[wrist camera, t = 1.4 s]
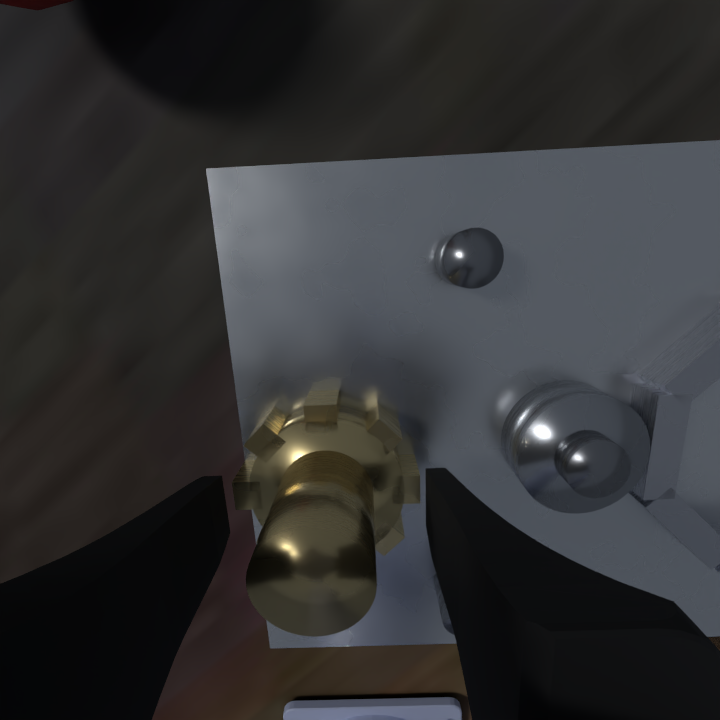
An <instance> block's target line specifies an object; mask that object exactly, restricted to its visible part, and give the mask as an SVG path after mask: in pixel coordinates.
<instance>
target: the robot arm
mask: <svg viewBox="0 0 720 720" xmlns="http://www.w3.org/2000/svg"><path fill="white" fill-rule="evenodd" d="M425 469H426V529H427V535H428V541H429V547H430V552H431V557H432V561H433V564H434V567H435V571H436V574H437V578H438V581H439V584H440V588H441V591H442V594H443V598H444V601H445V604H446V608H447V611H448V614H449V618H450V621H451V624H452V628H453V631H454V635H455V639H456V643H457V647H458V651H459V656H460V661H461V666H462V670H463V675H464V680H465V685H466V690H467V695H468V700H469V705H470V710H471V716H472V720H720V651H719V650H718V649H717V647H716V646H715V645H714V644H713V643H712V642H711V641H710V640H709V638H708V637H707V636H706V635H705V634H704V633H703V632H702V631H701V630H700V629H699V627H698V626H697V625H696V624H695V623H694V622H693V621H692V620H691V619H690V618H689V617H688V616H687V615H686V614H685V613H684V611H683V610H682V609H681V608H680V607H679V606H678V605H677V604H676V603H675V602H674V601H671V600H668V599H666V598H663V597H660V596H657V595H655V594H652V593H649V592H646V591H644V590H641V589H638V588H635V587H633V586H630V585H627V584H624V583H622V582H619V581H617V580H615V579H612V578H610V577H608V576H605V575H603V574H601V573H599V572H596V571H594V570H592V569H589V568H587V567H585V566H583V565H581V564H579V563H577V562H575V561H573V560H571V559H569V558H567V557H565V556H563V555H561V554H559V553H558V552H556V551H554V550H552V549H550V548H548V547H547V546H545V545H543V544H541V543H540V542H538V541H536V540H535V539H533V538H532V537H530V536H528V535H527V534H525V533H524V532H522V531H521V530H519V529H517V528H516V527H515V526H513V525H512V524H510V523H509V522H507V521H506V520H505V519H503V518H502V517H501V516H500V515H498V514H497V513H496V512H494V511H493V510H492V509H490V508H489V507H488V506H487V505H486V504H484V503H483V502H482V501H481V500H480V499H478V498H477V497H476V496H475V495H474V494H473V493H472V492H471V491H469V490H468V489H467V488H466V487H465V486H464V485H463V484H462V483H461V482H460V481H459V480H458V479H457V478H456V477H455V476H454V475H453V474H452V473H450V472H449V471H448V470H447V469H446V468H425ZM229 534H230V527H229V520H228V514H227V507H226V501H225V494H224V488H223V481H222V476H204V477H201V478H199V479H197V480H195V481H193V482H192V483H190V484H188V485H187V486H185V487H184V488H182V489H180V490H179V491H177V492H176V493H174V494H173V495H171V496H170V497H168V498H166V499H165V500H163V501H162V502H160V503H159V504H157V505H156V506H154V507H152V508H151V509H149V510H148V511H146V512H145V513H143V514H141V515H139V516H138V517H136V518H134V519H133V520H131V521H129V522H128V523H126V524H124V525H123V526H121V527H119V528H118V529H116V530H114V531H113V532H111V533H109V534H107V535H106V536H104V537H102V538H100V539H98V540H96V541H94V542H92V543H91V544H89V545H87V546H85V547H83V548H81V549H79V550H77V551H75V552H73V553H71V554H69V555H66V556H64V557H62V558H60V559H58V560H55V561H53V562H51V563H49V564H46V565H44V566H42V567H39V568H37V569H35V570H33V571H30V572H28V573H26V574H24V575H21V576H19V577H16V578H14V579H11V580H9V581H6V582H4V583H1V584H0V720H152V717H153V714H154V711H155V709H156V706H157V703H158V700H159V698H160V695H161V692H162V690H163V687H164V684H165V682H166V679H167V677H168V674H169V671H170V669H171V666H172V664H173V661H174V658H175V656H176V654H177V651H178V649H179V647H180V645H181V642H182V640H183V638H184V636H185V634H186V632H187V630H188V628H189V626H190V624H191V622H192V619H193V617H194V615H195V613H196V611H197V609H198V607H199V605H200V603H201V601H202V599H203V597H204V595H205V593H206V591H207V589H208V587H209V585H210V583H211V581H212V579H213V577H214V575H215V572H216V570H217V568H218V566H219V564H220V561H221V558H222V556H223V553H224V550H225V547H226V544H227V541H228V538H229ZM283 719H284V720H462V711H461V706H460V702H459V701H458V700H457V699H455V698H453V697H425V698H382V699H340V700H297V701H291V702H289V703H287V704H286V706H285V709H284V715H283Z"/></svg>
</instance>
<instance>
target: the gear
mask: <svg viewBox="0 0 720 720" xmlns="http://www.w3.org/2000/svg"><path fill="white" fill-rule="evenodd" d="M402 440H403V439H402V434H401V429H400V425H399V421H398V420H397V419H395V418H394V417H393V416H392V415H391V414H390V413H389V412H387V411H386V410H385V409H384V408H383V407H382V406H381V405H379V404H378V403H377V404H376V405H375V406H374V407H373V408H372V409H371V410H370V411H369V412H368V413H367V414H365V413H364V412H362V411H359V410H357V409H354V408H351V407H347V406H343V405H340V394H339V390H319V391H309V394H308V396H307V398H306V401H305V403H304V405H303V409H301V410H298V411H296V412H294V413H292V414H291V415H289V416H288V417H286V416H284V415H283V414H282V413H281V412H279V411H278V410H277V409H276V408H275V407H274V408H273V409H272V410H271V411H270V412H269V413H268V414H267V415H266V416H265V417H264V419H263V420H262V421H261V422H260V423H259V424H258V425H257V426H256V427H255V429H254V430H253V432H252V433H251V435H250V436H249V438H248V439H247V441H246V442H245V444H244V445H243V446H244V447H246V448H247V449H248V450H249V451H251V452H252V453H253V454H255V455H256V456H257V458H256V460H248V461H245V462H244V463H243V465H242V467H241V468H240V470H239V472H238V473H237V475H236V477H235V478H234V480H233V482H232V487H233V494H234V500H235V507H236V510H247V509H253V511H254V514H255V516H256V518H257V519H258V521H259V523H260V524H261V526H262V529H261V532H260V534H259V537H258V539H257V542H256V543H257V545H256V547H255V550H254V553H253V555H252V558H251V560H250V563H249V566H248V569H247V575H246V586H247V591H248V595H249V597H250V600H251V602H252V604H253V605H254V607H255V608H256V610H257V611H258V612H259V613H260V614H261V615H262V616H263V617H264V618H265V619H266V620H267V621H268V622H270V623H271V624H273V625H274V626H276V627H278V628H280V629H282V630H284V631H287V632H289V633H292V634H297V635H302V636H315V637H317V636H327V635H332V634H335V633H339V632H341V631H344V630H346V629H348V628H350V627H352V626H353V625H355V624H356V623H357V622H359V621H360V620H361V619H362V618H363V617H364V616H365V615H366V613H367V612H368V611H369V610H370V608H371V606H372V604H373V602H374V599H375V596H376V591H377V572H376V550H377V551H378V552H379V553H381V554H382V555H383V556H385V555H386V554H387V553H388V552H390V551H391V550H392V549H393V548H394V547H395V546H396V545H397V544H398V543H399V542H401V541H402V540H403V539H404V538H405V535H404V528H403V522H402V515H401V510H402V507H403V504H419V503H420V473H419V469H418V466H417V462H416V458H415V454H407V455H399V454H398V450H397V448H396V446H397V445H398V444H399V443H400V442H401V441H402Z"/></svg>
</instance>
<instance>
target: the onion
mask: <svg viewBox="0 0 720 720" xmlns="http://www.w3.org/2000/svg"><path fill="white" fill-rule="evenodd" d="M70 1H73V0H0V4H5V5H10V6H16V7H21V8H27V9H33V10H41V9H45V8H49V7H52V6H56V5H59V4H63V3H67V2H70Z"/></svg>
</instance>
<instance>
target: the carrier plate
mask: <svg viewBox="0 0 720 720" xmlns="http://www.w3.org/2000/svg"><path fill="white" fill-rule="evenodd" d="M206 171H207V179H208V186H209V194H210V201H211V209H212V216H213V224H214V231H215V239H216V246H217V254H218V261H219V269H220V276H221V284H222V291H223V298H224V306H225V313H226V321H227V328H228V336H229V343H230V351H231V358H232V366H233V373H234V381H235V388H236V396H237V403H238V411H239V418H240V426H241V433H242V440H243V445H244V444H245V442H246V441H247V439H248V438H249V436H250V435H251V433H252V432H253V430H254V429H255V427H256V426H257V425H258V424H259V423H260V422H261V421H262V420H263V419H264V417H265V416H266V415H267V414H268V413H269V412H270V411H271V410H272V409H273V408H274V407H275V408H276V409H277V410H278V411H279V412H281V413H282V414H283V415H284V416H286V417H288V416H289V415H291V414H292V413H294V412H296V411H298V410H301V409H303V405H304V403H305V401H306V398H307V396H308V394H309V391H319V390H339V394H340V405H343V406H347V407H351V408H354V409H357V410H359V411H362V412H364V413H365V414H367V413H368V412H369V411H370V410H371V409H372V408H373V407H374V406H375V405H376V404H377V403H378V404H379V405H381V406H382V407H383V408H384V409H385V410H386V411H387V412H389V413H390V414H391V415H392V416H393V417H394V418H395V419H397V420H398V421H399V425H400V429H401V434H402V439H403V440H402V441H401V442H400V443H399V444H398V445H397V446H396V448H397V450H398V454H399V455H407V454H415V458H416V462H417V466H418V469H419V473H420V503H419V504H403V507H402V510H401V515H402V522H403V528H404V535H405V538H404V539H403V540H402V541H401V542H399V543H398V544H397V545H396V546H395V547H394V548H393V549H392V550H391V551H390V552H388V553H387V554H386V555H385V556H383V555H382V554H381V553H379V552H378V551H377V550H376V572H377V591H376V596H375V599H374V602H373V604H372V606H371V608H370V610H369V611H368V612H367V613H366V615H365V616H364V617H363V618H362V619H361V620H360V621H359V622H357V623H356V624H355V625H353V626H352V627H350V628H348V629H346V630H344V631H341V632H339V633H335V634H332V635H327V636H317V637H315V636H302V635H297V634H292V633H289V632H287V631H284V630H282V629H280V628H278V627H276V626H274V625H273V624H271V623H270V622H268V621H267V627H268V635H269V642H270V648H301V647H339V646H376V645H414V644H452V643H456V639H455V635H454V631H453V628H452V624H451V621H450V618H449V614H448V611H447V608H446V604H445V601H444V598H443V594H442V591H441V588H440V584H439V581H438V578H437V574H436V571H435V567H434V564H433V561H432V557H431V552H430V547H429V541H428V535H427V529H426V469H425V468H446V469H447V470H448V471H449V472H450V473H452V474H453V475H454V476H455V477H456V478H457V479H458V480H459V481H460V482H461V483H462V484H463V485H464V486H465V487H466V488H467V489H468V490H469V491H471V492H472V493H473V494H474V495H475V496H476V497H477V498H478V499H480V500H481V501H482V502H483V503H484V504H486V505H487V506H488V507H489V508H490V509H492V510H493V511H494V512H496V513H497V514H498V515H500V516H501V517H502V518H503V519H505V520H506V521H507V522H509V523H510V524H512V525H513V526H515V527H516V528H517V529H519V530H521V531H522V532H524V533H525V534H527V535H528V536H530V537H532V538H533V539H535V540H536V541H538V542H540V543H541V544H543V545H545V546H547V547H548V548H550V549H552V550H554V551H556V552H558V553H559V554H561V555H563V556H565V557H567V558H569V559H571V560H573V561H575V562H577V563H579V564H581V565H583V566H585V567H587V568H589V569H592V570H594V571H596V572H599V573H601V574H603V575H605V576H608V577H610V578H612V579H615V580H617V581H619V582H622V583H624V584H627V585H630V586H633V587H635V588H638V589H641V590H644V591H646V592H649V593H652V594H655V595H657V596H660V597H663V598H666V599H668V600H671V601H674V602H675V603H676V604H677V605H678V606H679V607H680V608H681V609H682V610H683V611H684V613H685V614H686V615H687V616H688V617H689V618H690V619H691V620H692V621H693V622H694V623H695V624H696V625H697V626H698V627H699V629H700V630H701V631H702V632H703V633H704V634H705V635H706V636H707V637H715V636H720V140H717V141H699V142H681V143H663V144H645V145H626V146H608V147H590V148H572V149H554V150H536V151H518V152H500V153H482V154H463V155H445V156H427V157H409V158H391V159H373V160H355V161H337V162H319V163H300V164H282V165H264V166H246V167H228V168H210V169H206ZM243 448H244V455H245V461H248V460H256V458H257V456H256V455H255V454H253V453H252V452H251V451H249V450H248V449H247V448H246V447H244V446H243ZM252 515H253V523H254V530H255V538H256V542H257V539H258V537H259V534H260V532H261V529H262V526H261V524H260V523H259V521H258V519H257V518H256V516H255V514H254V511H253V509H252ZM256 545H257V543H256Z"/></svg>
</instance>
